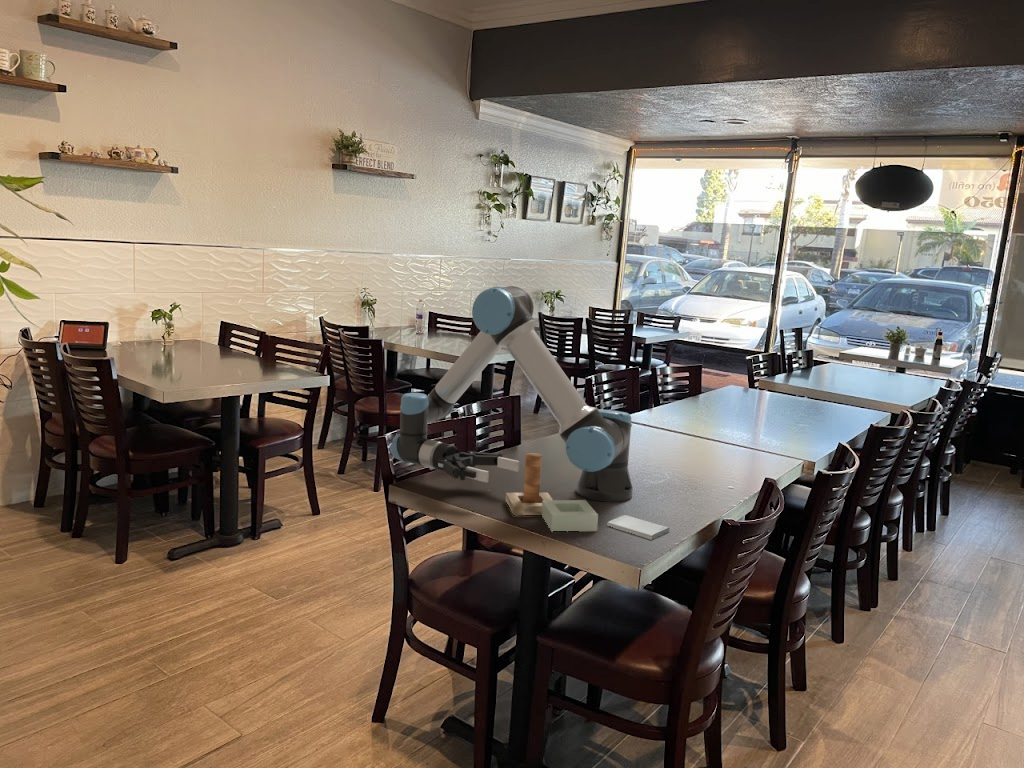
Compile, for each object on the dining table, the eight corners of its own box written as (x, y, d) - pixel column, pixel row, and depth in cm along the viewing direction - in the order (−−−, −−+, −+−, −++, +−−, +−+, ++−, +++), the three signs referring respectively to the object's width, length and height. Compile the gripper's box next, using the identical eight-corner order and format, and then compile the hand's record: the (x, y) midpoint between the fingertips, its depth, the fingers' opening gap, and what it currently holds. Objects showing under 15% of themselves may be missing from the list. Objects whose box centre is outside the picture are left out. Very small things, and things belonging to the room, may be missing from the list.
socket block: (584, 515, 195) (585, 500, 194) (596, 531, 184) (598, 514, 184) (541, 516, 193) (542, 500, 192) (551, 531, 182) (552, 515, 182)
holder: (547, 501, 204) (547, 492, 204) (556, 515, 194) (557, 506, 193) (505, 502, 202) (505, 492, 202) (513, 516, 192) (513, 506, 191)
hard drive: (669, 527, 186) (625, 513, 194) (651, 535, 180) (607, 521, 188) (669, 533, 187) (625, 520, 195) (651, 542, 181) (606, 527, 189)
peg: (536, 506, 200) (539, 452, 198) (540, 511, 196) (543, 457, 194) (521, 506, 199) (524, 452, 197) (524, 511, 196) (527, 457, 193)
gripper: (467, 460, 224) (529, 475, 212) (408, 479, 204) (473, 496, 192) (468, 435, 223) (530, 448, 211) (409, 451, 202) (474, 467, 191)
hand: (503, 471), depth 201 cm, fingers open, 13 cm apart
